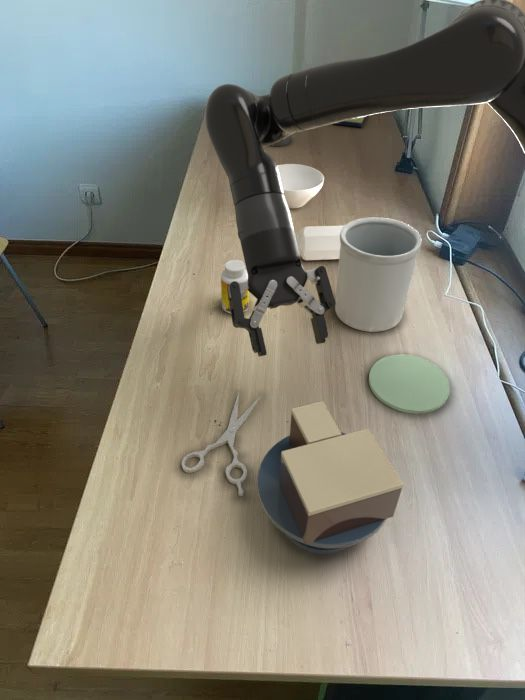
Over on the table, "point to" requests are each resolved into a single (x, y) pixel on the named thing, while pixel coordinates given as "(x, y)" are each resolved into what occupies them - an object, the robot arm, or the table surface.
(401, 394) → the plate
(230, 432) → the scissors
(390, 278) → the utensil holder
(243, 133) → the robot arm
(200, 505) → the table surface
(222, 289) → the supplement bottle
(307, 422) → the cake slice
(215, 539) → the table surface
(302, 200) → the bowl
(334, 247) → the crystal
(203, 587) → the table surface
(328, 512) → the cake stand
